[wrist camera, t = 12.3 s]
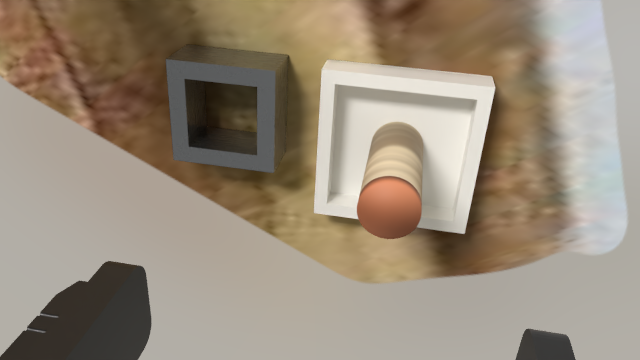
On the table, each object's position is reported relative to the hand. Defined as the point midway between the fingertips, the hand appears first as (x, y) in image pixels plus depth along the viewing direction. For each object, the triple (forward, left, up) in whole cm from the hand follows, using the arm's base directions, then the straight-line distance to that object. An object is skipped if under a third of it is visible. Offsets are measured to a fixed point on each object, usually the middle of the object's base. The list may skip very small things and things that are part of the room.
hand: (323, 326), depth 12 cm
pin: (+10, +1, -32) cm, 33 cm away
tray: (+10, +1, -32) cm, 34 cm away
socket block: (+8, -12, -32) cm, 35 cm away
